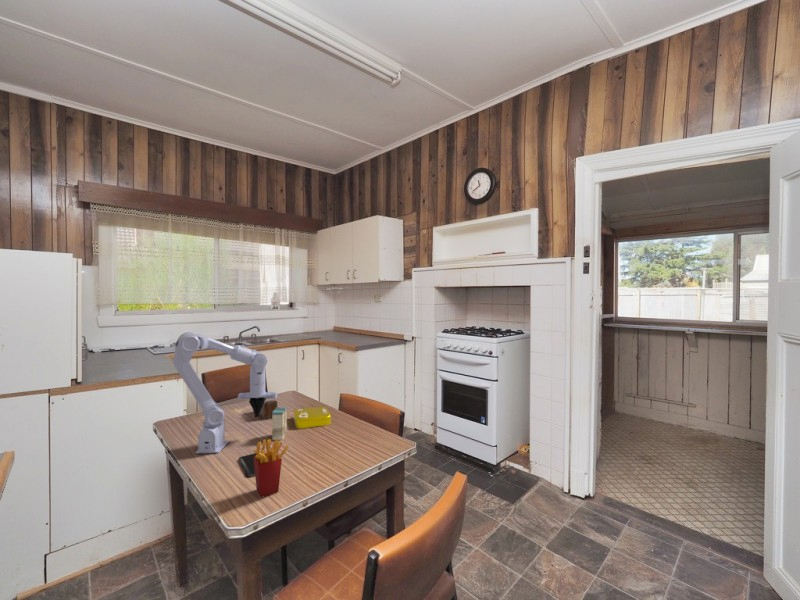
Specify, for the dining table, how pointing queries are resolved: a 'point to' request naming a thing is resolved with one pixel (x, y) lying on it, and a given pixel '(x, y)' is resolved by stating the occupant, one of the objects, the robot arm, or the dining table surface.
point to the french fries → (268, 467)
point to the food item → (268, 408)
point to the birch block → (279, 423)
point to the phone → (248, 464)
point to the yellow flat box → (311, 417)
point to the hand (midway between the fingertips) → (257, 416)
